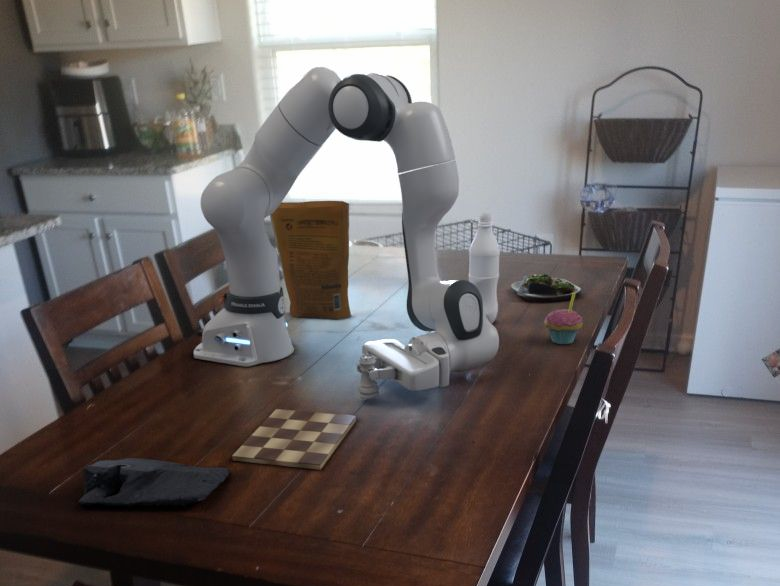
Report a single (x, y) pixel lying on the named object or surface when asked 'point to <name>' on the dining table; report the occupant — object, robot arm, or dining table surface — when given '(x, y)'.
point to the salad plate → (545, 289)
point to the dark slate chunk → (148, 482)
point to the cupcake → (564, 324)
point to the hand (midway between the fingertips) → (363, 372)
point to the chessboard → (295, 439)
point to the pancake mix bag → (314, 256)
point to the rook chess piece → (367, 379)
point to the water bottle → (485, 265)
